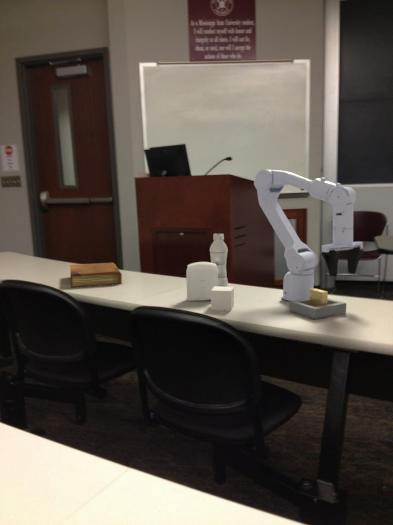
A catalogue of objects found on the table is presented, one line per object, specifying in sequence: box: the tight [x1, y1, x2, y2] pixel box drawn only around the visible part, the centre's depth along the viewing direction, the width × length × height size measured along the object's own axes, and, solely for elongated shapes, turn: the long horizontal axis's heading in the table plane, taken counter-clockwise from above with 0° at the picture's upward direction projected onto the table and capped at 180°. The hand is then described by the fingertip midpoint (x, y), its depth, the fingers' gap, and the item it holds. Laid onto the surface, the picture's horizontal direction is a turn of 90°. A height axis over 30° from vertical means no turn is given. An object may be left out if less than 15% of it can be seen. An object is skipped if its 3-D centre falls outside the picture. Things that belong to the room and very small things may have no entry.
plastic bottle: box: [209, 233, 229, 287], centre depth 155 cm, size 6×7×20 cm
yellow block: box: [309, 288, 329, 307], centre depth 126 cm, size 4×5×6 cm
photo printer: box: [185, 261, 218, 302], centre depth 142 cm, size 10×4×12 cm, turn 96°
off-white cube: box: [210, 286, 235, 312], centre depth 132 cm, size 6×6×6 cm
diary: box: [69, 262, 123, 289], centre depth 177 cm, size 23×19×6 cm
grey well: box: [289, 298, 347, 321], centre depth 126 cm, size 10×12×3 cm
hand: (342, 274), depth 130 cm, fingers open, 7 cm apart
